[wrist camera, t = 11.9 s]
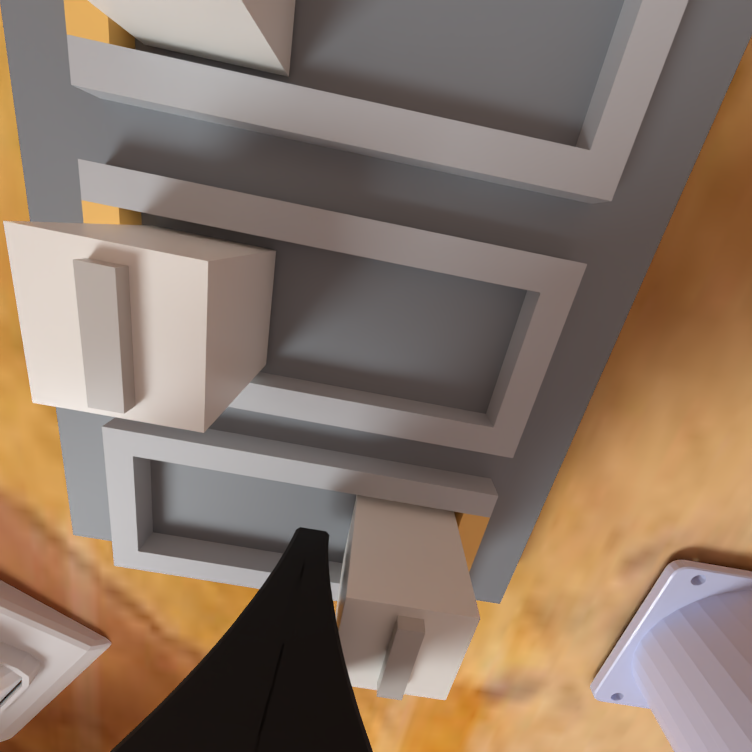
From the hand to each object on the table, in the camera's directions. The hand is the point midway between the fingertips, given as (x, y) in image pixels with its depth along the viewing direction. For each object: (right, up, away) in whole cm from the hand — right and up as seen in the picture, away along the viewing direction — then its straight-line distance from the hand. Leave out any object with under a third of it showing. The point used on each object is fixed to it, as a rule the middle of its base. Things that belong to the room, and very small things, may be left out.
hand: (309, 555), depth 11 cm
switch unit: (+1, +7, 0) cm, 7 cm away
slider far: (+3, 0, +1) cm, 3 cm away
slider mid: (-2, +7, -1) cm, 8 cm away
